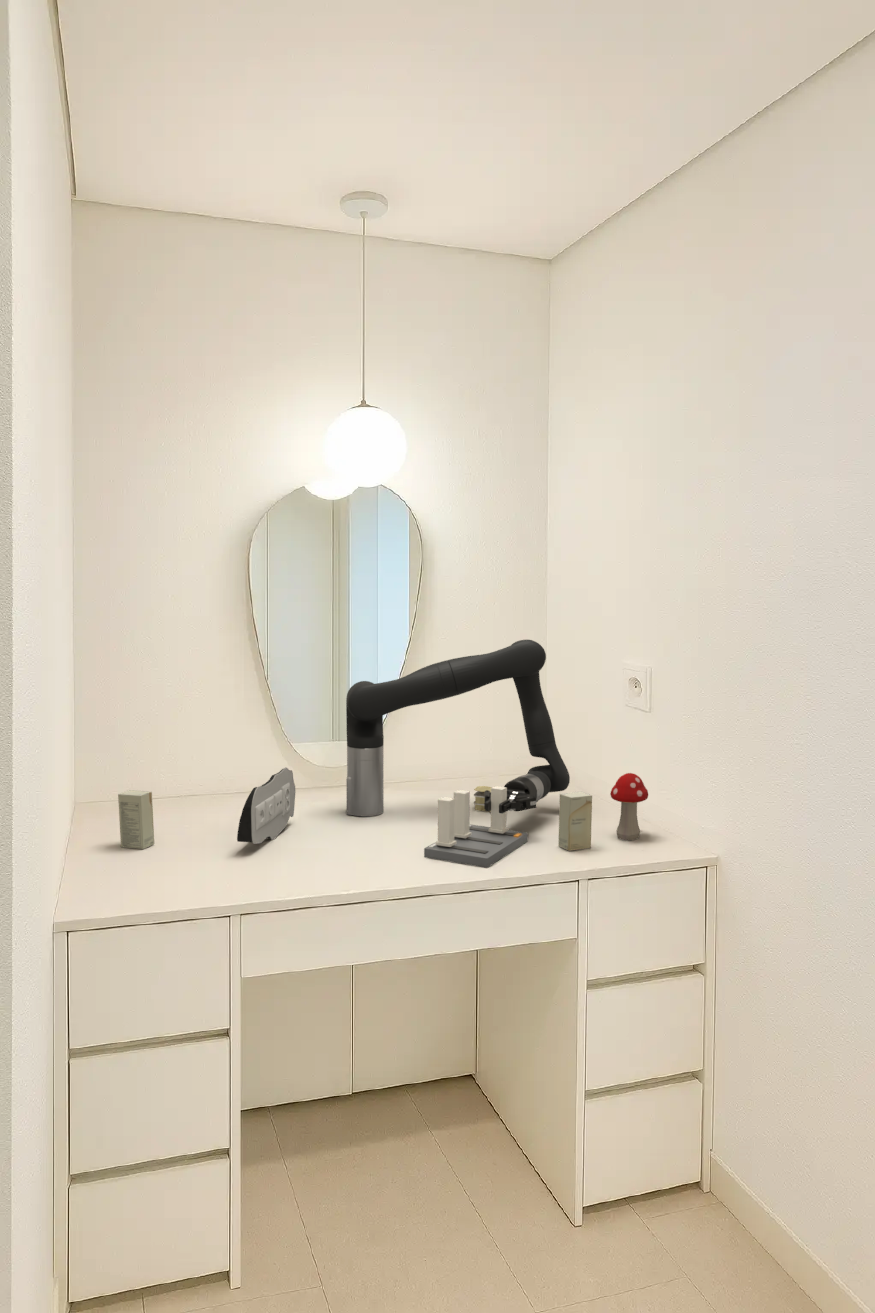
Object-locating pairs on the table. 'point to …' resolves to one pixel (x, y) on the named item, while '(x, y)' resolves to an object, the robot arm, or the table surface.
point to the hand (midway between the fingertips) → (493, 808)
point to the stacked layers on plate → (480, 797)
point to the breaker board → (469, 836)
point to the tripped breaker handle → (498, 818)
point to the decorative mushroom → (629, 804)
